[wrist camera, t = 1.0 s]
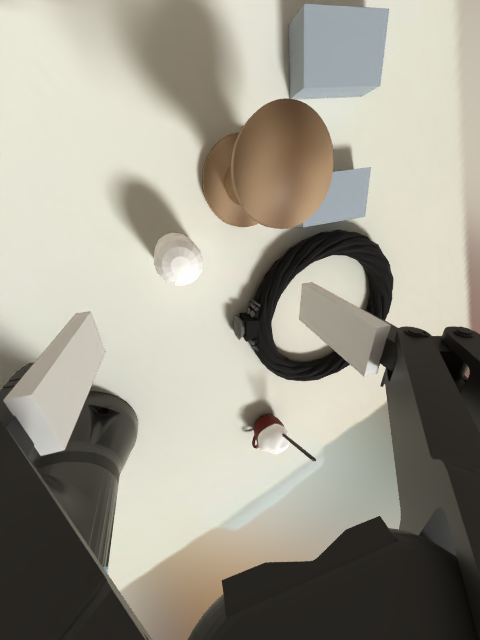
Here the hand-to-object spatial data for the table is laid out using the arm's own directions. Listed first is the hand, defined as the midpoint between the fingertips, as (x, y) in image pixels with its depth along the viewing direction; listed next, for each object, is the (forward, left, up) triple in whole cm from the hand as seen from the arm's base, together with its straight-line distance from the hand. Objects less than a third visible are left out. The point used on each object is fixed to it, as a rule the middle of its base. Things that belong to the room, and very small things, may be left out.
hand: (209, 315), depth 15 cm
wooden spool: (+9, +8, -19) cm, 23 cm away
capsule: (-1, +1, -19) cm, 19 cm away
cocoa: (+9, -36, -19) cm, 42 cm away
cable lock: (+20, -13, -20) cm, 31 cm away
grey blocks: (+21, +12, -19) cm, 31 cm away
